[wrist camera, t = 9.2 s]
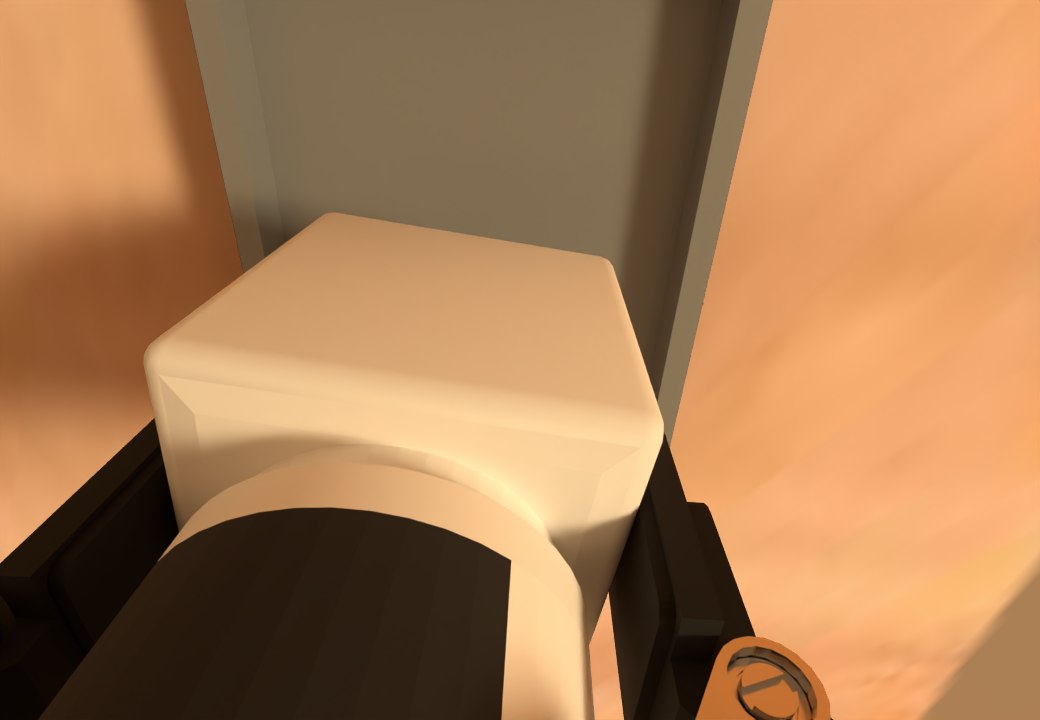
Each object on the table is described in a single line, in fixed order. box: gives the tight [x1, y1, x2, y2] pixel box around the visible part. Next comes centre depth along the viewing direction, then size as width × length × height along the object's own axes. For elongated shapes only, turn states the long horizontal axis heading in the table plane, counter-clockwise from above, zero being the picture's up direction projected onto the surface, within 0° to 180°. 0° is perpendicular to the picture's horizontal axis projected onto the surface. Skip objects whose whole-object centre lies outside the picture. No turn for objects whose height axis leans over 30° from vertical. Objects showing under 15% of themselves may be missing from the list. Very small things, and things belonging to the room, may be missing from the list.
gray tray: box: [185, 0, 773, 447], centre depth 19 cm, size 20×15×2 cm
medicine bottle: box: [38, 212, 664, 720], centre depth 10 cm, size 7×7×12 cm
